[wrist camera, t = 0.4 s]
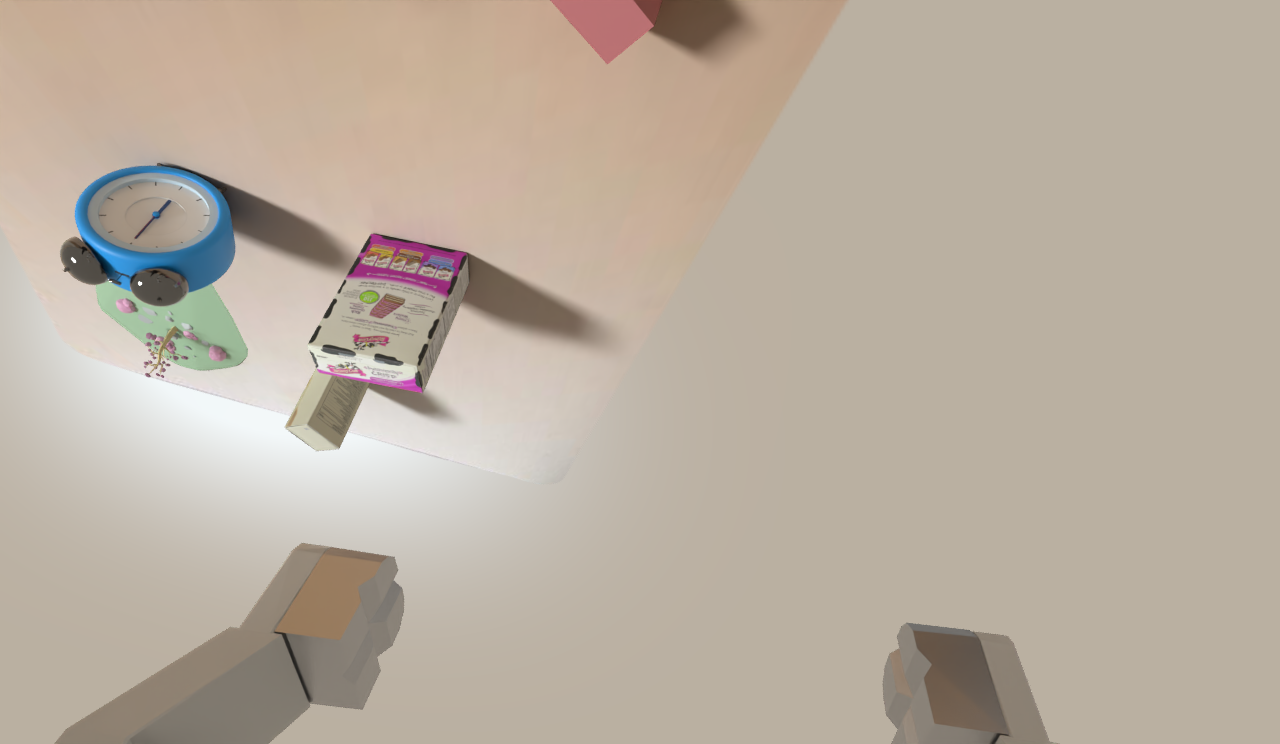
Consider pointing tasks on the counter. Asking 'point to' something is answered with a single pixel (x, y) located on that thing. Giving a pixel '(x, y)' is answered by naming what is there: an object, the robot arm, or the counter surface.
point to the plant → (179, 327)
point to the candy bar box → (391, 314)
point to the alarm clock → (151, 234)
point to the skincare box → (326, 410)
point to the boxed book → (610, 22)
